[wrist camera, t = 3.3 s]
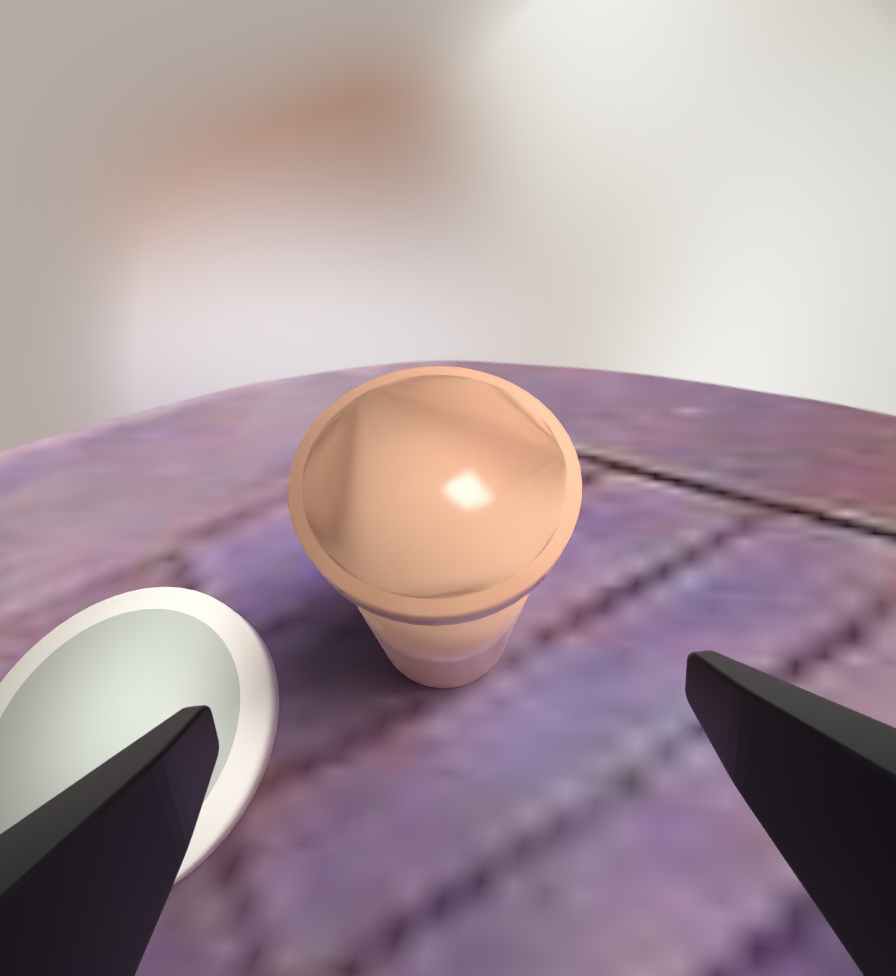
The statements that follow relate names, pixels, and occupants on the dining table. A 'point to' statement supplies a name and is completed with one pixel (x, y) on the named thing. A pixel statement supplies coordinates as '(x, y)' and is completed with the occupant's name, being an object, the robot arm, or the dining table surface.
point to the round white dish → (139, 701)
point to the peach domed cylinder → (436, 512)
